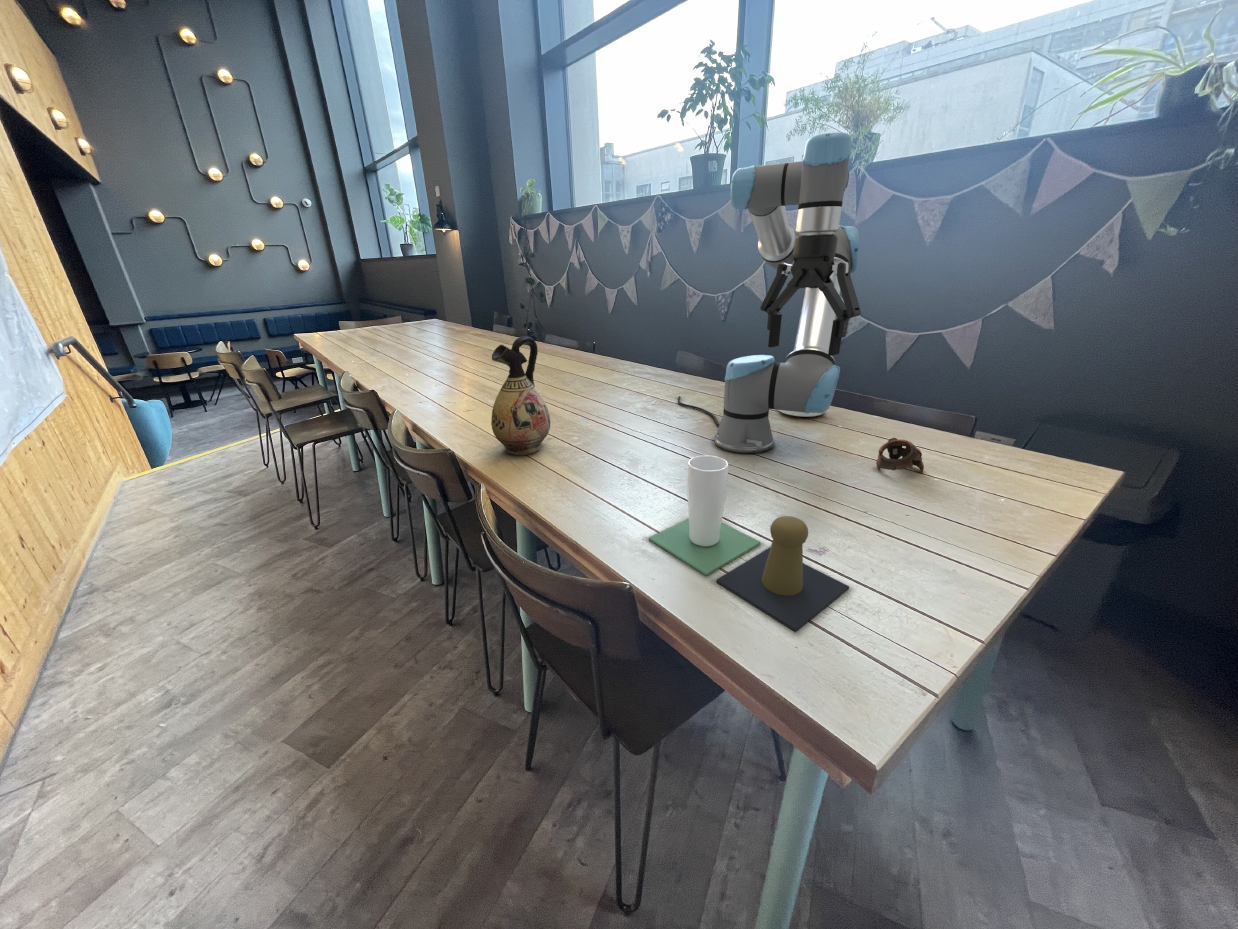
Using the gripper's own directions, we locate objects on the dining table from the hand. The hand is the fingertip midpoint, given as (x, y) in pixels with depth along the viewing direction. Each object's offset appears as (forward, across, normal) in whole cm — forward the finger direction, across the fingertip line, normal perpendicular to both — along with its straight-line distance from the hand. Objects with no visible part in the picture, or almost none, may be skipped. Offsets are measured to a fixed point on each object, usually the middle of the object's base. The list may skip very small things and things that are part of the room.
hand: (801, 350), depth 96 cm
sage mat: (+29, -6, +34) cm, 45 cm away
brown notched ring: (+29, -14, -23) cm, 40 cm away
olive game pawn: (+28, -22, +34) cm, 49 cm away
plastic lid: (+29, +25, -45) cm, 59 cm away
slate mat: (+29, -22, +34) cm, 50 cm away
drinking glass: (+28, -6, +34) cm, 45 cm away
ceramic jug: (+29, +57, +36) cm, 73 cm away
